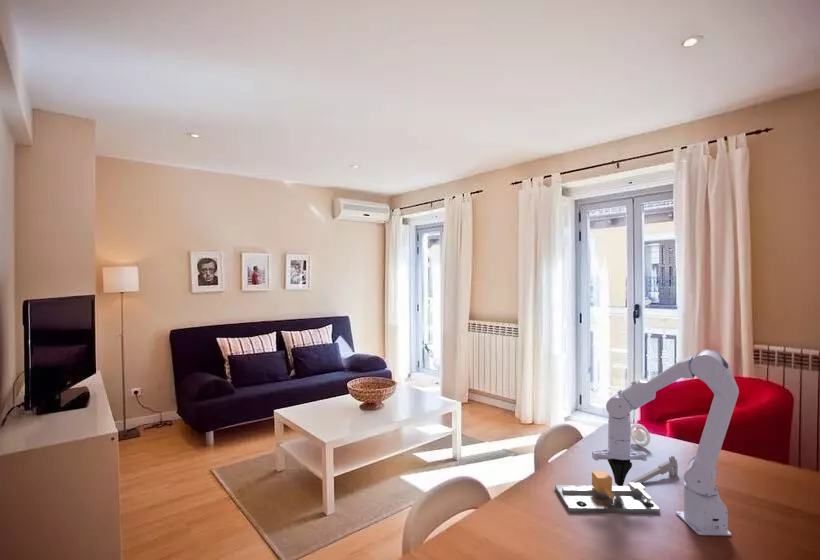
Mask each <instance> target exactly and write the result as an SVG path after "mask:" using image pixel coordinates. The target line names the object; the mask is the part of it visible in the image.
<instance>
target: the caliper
mask: <svg viewBox="0 0 820 560" xmlns="http://www.w3.org/2000/svg"><path fill="white" fill-rule="evenodd" d="M668 459H669V460H667V461H664V462H663V463H661V464H659V465H658V467H656V468H654V469H652V470H650V471H648V472H646V473H644V474H642V475H640V476H638V477H636V478H634V479H632V480H630V482H629V483H641V484H644V483H645V482H646V481H648V480H650V479H653V478H654V477H656V476H658V475H662V476H663V475H665V474H667V473H668V474H669V475H670V476H671V477H674V475H675V476H677V475H678V473H679V472H678V471H679V470H678V468H679V467H678V466H679V465H678V461H677V459H676V458H675V456H674V455H671V457H670V456H669V457H668ZM629 483H628V484H627V485H626V486H629Z"/></svg>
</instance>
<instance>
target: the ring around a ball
mask: <svg viewBox="0 0 820 560" xmlns="http://www.w3.org/2000/svg"><path fill="white" fill-rule="evenodd" d="M635 428H637V429H635ZM631 440H632V441H633V442H634V443H635V444H636V445H637V446H639V447H643V448H644V447H647V446H648V445H649V444H650V443H651V434H650V432H649V430H648V429H647V428H646V427H645V426H644V425H643V424H640V423H634V424H633V425H631ZM641 442H644V443H641Z"/></svg>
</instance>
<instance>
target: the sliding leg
mask: <svg viewBox="0 0 820 560" xmlns="http://www.w3.org/2000/svg"><path fill="white" fill-rule="evenodd" d="M591 485H592V486H593V487H594V488H595V489H596V491H597V492H605V493H606V494H607V495H608V496H609V503H610V504H613V498H614V494H613V493H612V486H613V478H612V476H610V474H609V473H608V472H607V471H603V470H602V471H600V470H599V471H597V470H596V471H594V470H593V471H591Z"/></svg>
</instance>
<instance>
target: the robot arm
mask: <svg viewBox="0 0 820 560" xmlns="http://www.w3.org/2000/svg"><path fill="white" fill-rule="evenodd" d="M694 356H695V357H694ZM733 375H734V374H733V373H732V370H731V368H730V365H729V362H728V361H727V360H726V359H725V358H724V357H723V356H722V354H720V353H719V352H717V351H715V350H712V349H702V350H700V351H698V352H697V353H696V354H692V355H689V356H687V357H685V358H683V359H681V360H679V361H677V362H676V363H674V364H673V365H671V366H669V367H668V368H667V369H665V370H663V371H662V372H660V373H658V374H657V375H655V377H652V378H651V379H650V380H644V379H640V380H636V379H635V380H633V381H632V382H631V385H630V386H628V387H627V388H625V389H623V390H622V389H619V390H618V391H617V392H616V394H614V395H613V396H612V397H610V398H609V399H608V400H607V401H606V405H605V408H606V412H607V413H608V420H607V424H608V425H607V428H608V429H607V433H608V434H607V438H608V439H607V448H605V449H600V450H592V451H591V452H592V453H591V458H592V459H593V460H594V461H600V460H607V462H608V464H609V465H610V468H611V469H610V470H611V471H612V475H613V479H614V483H615V485H616V486H624V483H625V481H626V477H627V475H628V473H629V471H631V469H632V467H633V463H632V460H633V461H634V460H635V461H643V462H647V460H648V458H647V456H648V454H647V453H646V452H644V451H641V450H633V449H631V447H632V446H631V442H632V441H631V440H632V438H631V427H632V425H631V423H632V422H631V412H632V411H634V410H638V409H639V408H641V407H642V406H644V405H646V404H647V403H649V402H651V401H653V400H655V399H656V396H657V394H656V393H657V392H658V391H659V390H662V389H664V388H665V387H667V386H669V385H670V384H672V383H674V382H676V381H678V380H680V379H682V378H683V379H689V380H690V379H694V378H695V377H697V379H699V380H700V381H702V382H703V383H705V384H706V385H707V387H708V388H709V389H710V390H711V392H712V393H713V394H714V395H713V398H712V402H711V405H710V409H709V411H708V414H707V417H706V421H705V425H704V428H703V431H702V433H701V437H700V439H699V443H698V447H697V450H696V453H695V455H694V456H693V457H692V458H690V460H689V461H688V466H687V469H686V471H685V472H684V474H683V480H684V482H683V510H682V511H679V510H678V511H676V512H675V513H676V515H678V517H679V518H681V520H682V521H684V522H685V524H687V525H688V526H689V527H690V528H691V529H692V530H693V531H694V532H695V533H696V534H697V535H699V536H732V533H731V532H730V530H729V529H728V528H729V526H728V525H729V523H728V522H729V512H728V507H727V506H726V504H725V503H724V502H723V501H722V499H721V498H720V494H719V488H718V487H717V485H716V484H715V483H716V480H717V479H716V478H717V476H718V468H717V463H718V459H719V456H720V453H721V449H722V447H723V444H724V440H725V438H726V434H727V431H728V429H729V425H730V424H731V423H730V422H731V419H732V416H733V413H734V409H735V407H736V403H737V401H738V398H739V393H740V391H739V390H740V389H739V386H738V384H737V381H736V379H735V377H734V376H733Z"/></svg>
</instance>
